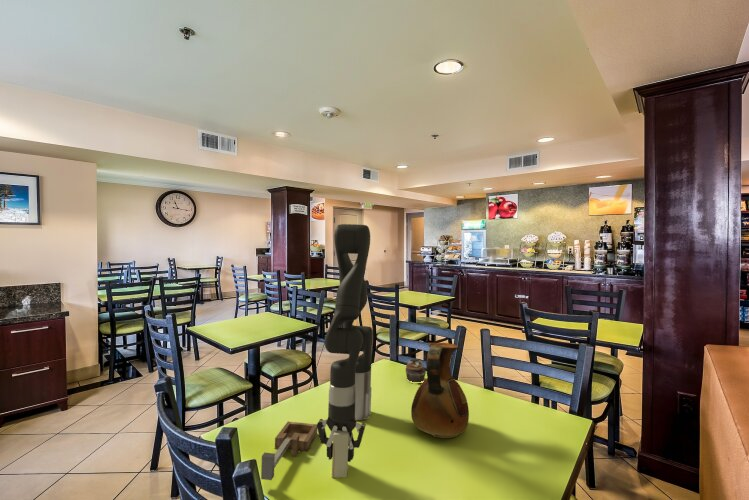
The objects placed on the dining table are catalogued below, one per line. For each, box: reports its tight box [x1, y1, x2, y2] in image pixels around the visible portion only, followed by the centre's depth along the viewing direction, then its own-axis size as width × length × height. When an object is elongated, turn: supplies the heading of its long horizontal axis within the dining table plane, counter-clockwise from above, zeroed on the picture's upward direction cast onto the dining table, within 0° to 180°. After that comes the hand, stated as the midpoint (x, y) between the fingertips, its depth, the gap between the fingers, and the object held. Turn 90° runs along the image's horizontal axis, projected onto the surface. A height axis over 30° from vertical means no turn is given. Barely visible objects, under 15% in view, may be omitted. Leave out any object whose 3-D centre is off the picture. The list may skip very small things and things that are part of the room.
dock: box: [274, 420, 318, 458], centre depth 111 cm, size 10×13×5 cm
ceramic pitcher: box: [410, 342, 470, 439], centre depth 122 cm, size 20×20×30 cm
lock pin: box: [260, 439, 291, 481], centre depth 98 cm, size 3×15×6 cm, turn 172°
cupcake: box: [405, 357, 427, 382], centre depth 166 cm, size 10×10×10 cm
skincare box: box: [331, 430, 349, 478], centre depth 99 cm, size 6×4×12 cm
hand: (340, 458), depth 99 cm, fingers closed on skincare box, 5 cm apart
